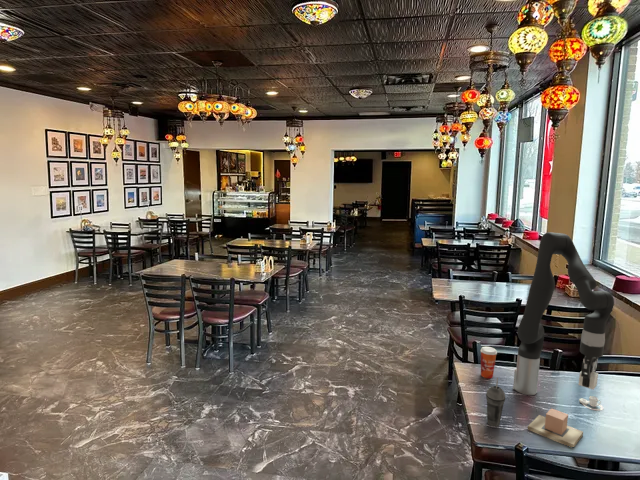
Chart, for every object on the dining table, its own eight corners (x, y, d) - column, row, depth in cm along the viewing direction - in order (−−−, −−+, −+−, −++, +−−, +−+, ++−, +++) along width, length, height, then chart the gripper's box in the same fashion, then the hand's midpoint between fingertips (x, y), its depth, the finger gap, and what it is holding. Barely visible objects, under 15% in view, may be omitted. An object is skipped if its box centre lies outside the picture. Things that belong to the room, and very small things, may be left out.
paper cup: (480, 378, 210) (482, 351, 208) (477, 371, 218) (479, 345, 216) (497, 380, 209) (499, 352, 207) (493, 373, 217) (495, 346, 215)
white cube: (578, 384, 166) (579, 372, 165) (582, 380, 169) (583, 368, 168) (593, 389, 162) (594, 377, 161) (596, 385, 166) (598, 373, 165)
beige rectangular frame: (527, 429, 168) (528, 425, 168) (539, 418, 176) (539, 414, 176) (572, 448, 157) (573, 444, 156) (582, 435, 165) (583, 431, 165)
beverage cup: (502, 420, 174) (506, 374, 171) (503, 430, 167) (508, 382, 164) (483, 416, 176) (487, 371, 174) (483, 426, 170) (487, 378, 167)
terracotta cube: (544, 428, 166) (546, 413, 166) (550, 422, 170) (551, 408, 170) (561, 435, 162) (563, 420, 161) (566, 428, 166) (568, 414, 165)
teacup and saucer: (576, 402, 190) (577, 394, 189) (588, 399, 193) (589, 391, 192) (595, 412, 182) (596, 404, 181) (607, 409, 185) (608, 400, 184)
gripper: (586, 334, 171) (581, 375, 173) (576, 344, 161) (571, 386, 163) (608, 340, 166) (603, 381, 168) (599, 350, 156) (593, 394, 158)
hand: (587, 383), depth 166 cm, fingers closed on white cube, 5 cm apart
